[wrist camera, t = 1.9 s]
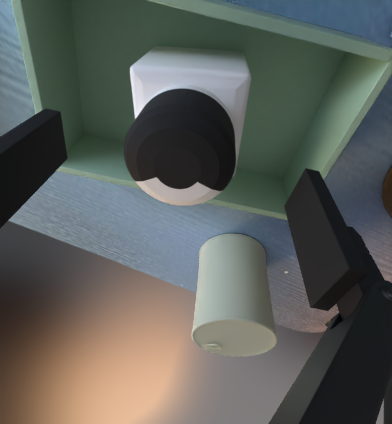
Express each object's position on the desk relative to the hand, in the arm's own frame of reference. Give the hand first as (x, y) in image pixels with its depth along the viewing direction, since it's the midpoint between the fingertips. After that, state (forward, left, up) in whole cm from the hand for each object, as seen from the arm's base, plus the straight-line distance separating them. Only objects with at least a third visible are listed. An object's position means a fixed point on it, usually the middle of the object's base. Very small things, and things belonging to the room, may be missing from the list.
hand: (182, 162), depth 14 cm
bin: (0, 0, -11) cm, 11 cm away
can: (+20, +9, -12) cm, 25 cm away
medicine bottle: (0, 0, -11) cm, 11 cm away
